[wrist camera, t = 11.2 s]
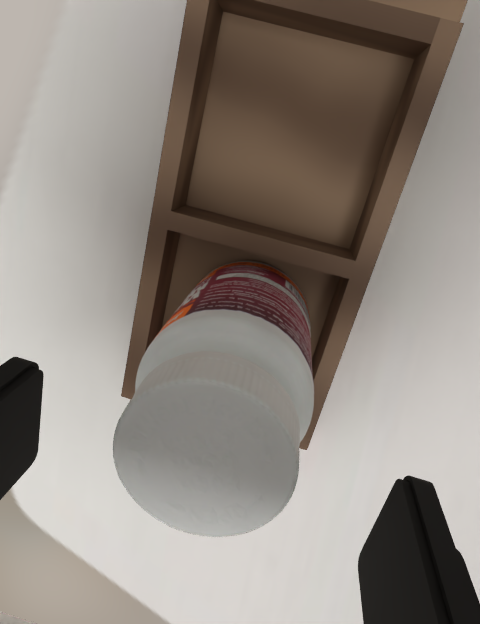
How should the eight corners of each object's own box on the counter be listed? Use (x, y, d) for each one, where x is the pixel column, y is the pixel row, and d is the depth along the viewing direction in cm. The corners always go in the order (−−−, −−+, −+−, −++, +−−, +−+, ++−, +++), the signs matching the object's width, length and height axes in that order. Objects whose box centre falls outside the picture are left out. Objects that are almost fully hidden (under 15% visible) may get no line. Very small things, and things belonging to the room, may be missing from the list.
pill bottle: (198, 247, 21) (95, 337, 11) (322, 271, 21) (343, 388, 10) (183, 358, 24) (86, 524, 13) (296, 382, 23) (291, 573, 12)
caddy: (215, -56, 18) (193, -109, 15) (457, 3, 18) (498, -37, 14) (136, 385, 26) (108, 423, 22) (303, 433, 26) (304, 480, 22)
